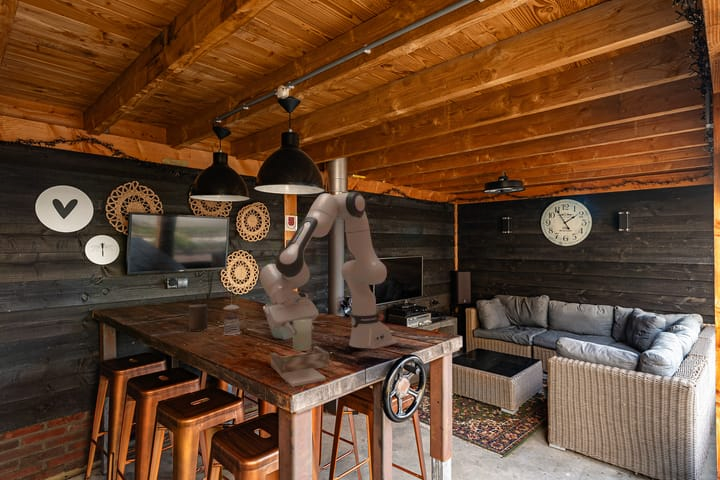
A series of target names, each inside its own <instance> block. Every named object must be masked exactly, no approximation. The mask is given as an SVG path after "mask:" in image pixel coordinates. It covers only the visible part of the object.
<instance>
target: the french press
mask: <svg viewBox="0 0 720 480" xmlns="http://www.w3.org/2000/svg"><path fill="white" fill-rule="evenodd" d="M229 289H230V291H231V293H230V295H231V296H230V298H231V301H230V302H231V304H230V305H227V306H225V307H223V310H224V311H231V313H230V314H225V315H224V317H225V318H224V319H223V333H222V334H224V335H234V336H236V335H235V334H239V335H241V334H242V332H241V331H240V330H241V324H243V323H244V322H245V318H246V315H245V314H246V313H245V312H244V311H243V310H242V309H240V306H238V305H236V304H233V299H232V297H233V292H232V290H233V289H234V287H233V286H229ZM233 310H238V313H237V314H234V313H233ZM240 312H242V313H243V317H244V318H243V320H242V321H240V317H239V313H240ZM240 333H241V334H240ZM224 335H223V336H224Z"/></svg>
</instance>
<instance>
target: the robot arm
mask: <svg viewBox="0 0 720 480" xmlns="http://www.w3.org/2000/svg"><path fill="white" fill-rule="evenodd" d="M365 199H366V198H365V197H364V196H363V195H362V193H360V192H358V191H350V192H340V193H336V194H331V193H328V192H327V193H325V192H324V193H321V194H320V195H318V197H316V199H315V200H314V202H313V203H312V205H311V206H310V208H309V211H308V213H307V214H306V216H305V218H304V219H303V220H302V221H301V222H300V224H299V225H298V227H297V228H296V230H295V231H294V234H293V235H292V237H291V238H290V240H289V241H288V243H287V244H286V246H285V247H284V248H283V249H282V250H281V251H280V252H279V253H278V254H277V256H276V257H275V259H274V260H275V261H274V263H267V264H266V265H265V266H264V267H263V268H261V270H260V273H259V281H260V283H261V286H262V288H263V290H264V291H265V293H266V294H267V295H268V296H269V300H270V302H271V303H266V304H265V305H263V309H262V310H263V311H264V314H265V316H266V319H267V320H268V321H267V323H268V322H269V324H268V326H269V325H270V326H271V327H272V328H274V329H275V328H279V327H284V329H285V330H287V331H288V332H290V334H291V335H292V336H293V335H296V333H297V331H296V329H295V328H292V327H291V326H290V325H293V320H297V319H302V318H310V319H311V332H312V331H314V329H315V327H314V325H313V321H315V320H317V317H319V314H320V313H319V310H318V308H317V307H316V305H315V304H314V302H313V301H312V300H311V299H309V295H308V293H306V292H301V291H297V290H296V289H299V288H300V287H303V286H304V285H306V284H307V283H308V281H309V280H310V277H311V273H310V272H311V271H310V269H309V268H308V265H307V264H306V261H305V257H304V255H305V254H304V252H305V250H306V248H307V247H308V245H309V243H310V241H311V239H312V238H313V237H314V238H322V237H325V236H327V235H328V233H329V232H330V230H331V229H332V226H333V223H334V222H335V220H341V219H343V220H344V227H345V236H346V243H347V248H348V250H349V252H350V253H351V254H352V255H353V256H354V258H355V259H353V260H348V261H346V262H344V263H343V264H342V267H341V271H340V272H341V276H342V278H343V279H344V280H345V282H346V284H347V286H348V289H349V293H350V297H351V315H350V316H351V317H350V319H351V321H350V322H351V332H350V338H349V343H348V345H349V346H350V347H352V348H357V349H371V350H375V349H380V348H385V347H387V346H392V345H395V344H398V341H397V340H396V338H394V337H392V330H391V329H390V328H389V327H388V326H386V325H385V324H384V323H383V322H381V321H380V320H383V319H384V317H385V316H384V315H383V314H381V313H380V314H378V313H377V305H376V304H377V303H376V302H377V301H376V299H377V298H376V295H375V294H374V293H373V292H372V290H371V288H370V286H369V285H372V286H374V285H380V284H382V283H384V282H385V281H386V278H387V274H388V270H387V267H386V265H385V264H384V263H383V262H382V261H381V260H380V259H379V258H378V255H377V254H376V251H375V249H374V245H373V243H372V242H373V241H372V237H371V230H370V224H369V223H370V222H369V220H368V217H367V216H368V215H367V213H366V206H367V204H366V200H365ZM270 326H269V327H270Z"/></svg>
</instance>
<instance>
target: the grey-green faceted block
mask: <svg viewBox="0 0 720 480" xmlns="http://www.w3.org/2000/svg"><path fill="white" fill-rule="evenodd" d="M267 323H268V326H269V329H270V332H271V333H272V337H273V338H274V339H279V340H284V341H285V340H289V339H293V336H292V335H291V334H290V332H288V331H287V330H285V329H284V327H279V328H275V329H274V328H272V327H271V326H270V325H269V322H268V320H267ZM290 326H291V327H292V328H293V325H290Z"/></svg>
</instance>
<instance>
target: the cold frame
mask: <svg viewBox="0 0 720 480" xmlns="http://www.w3.org/2000/svg"><path fill="white" fill-rule="evenodd" d="M312 349H313V350H312V351H308V352H302V353H296V354H290V355H284V356H281V355H279V354H277V353H276V352H271V353H270V367H271V368H272V369H273V370H275V371H276V373H277V374H279V376H281V373H286V372H291V371H297V370H302V369H308V368H313V369H315V370H316V369H321V368H326V367H330V352H328V351H326V350H324V349H323V348H321V347H319V346H318V345H315V346H312Z"/></svg>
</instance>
